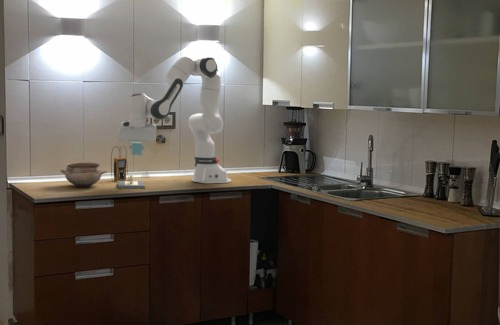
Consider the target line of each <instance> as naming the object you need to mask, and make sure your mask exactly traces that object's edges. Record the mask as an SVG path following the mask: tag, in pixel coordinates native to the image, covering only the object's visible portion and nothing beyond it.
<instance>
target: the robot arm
mask: <svg viewBox="0 0 500 325" xmlns="http://www.w3.org/2000/svg"><path fill="white" fill-rule="evenodd" d="M218 71H219V70H218V62H217V60H216V59H215V58H214V57H212V56H211V55H208V56H206V55H200V56H195V57H194V56H193V57H192V56H190V55H186V54H184V55H182V56H180V57H179V58H178V59H177V60H176V61H175V62H174V63H173V65H172V66H171V67H169V69H168V71H167V73H166V75H165V79H166V82H167V83H168V86H169V87H168V88H167V90H166V92H165V93H164V95H163V97H161V98H160V99H158V100H155V99H153V98H150V97H149V96H147V95H146V93H145V92H144V93H143V92H142V93H141V92H139V93H134V94H132V95H131V96H130V99H129V116H128V117H129V119H128V120H125V121H124V120H123V121H122V122H120V127H119V129H118V133H117V139H118V140H119V141H126V143H127V144H128V149H129V150H132V144H130V143H131V141H132V142H139V141H140V142H143V143H144V144H142V150H145V146H146V144H147V142H156V140H157V139H156V138H157V134H156V132H157V131H158V130H157V129H158V128H157V125H156V124H154V123H147V117H148V118H151V119H157V120H165V119H167V118H168V116H169V115H170V113H171V110H172V106H173V104H174V102H175V101H176V99H177V98H178V96H179V95H180V93H181V91H182V90H183V87H184V85H185V83H186V82H187V80H188V79H189V78H190V76H195V77H201V81H202V82H201V86H200V87H201V88H200V94H199V101H198V102H199V104H200V105H201V108H202V113H194V114H192V115H191V116H190V117H189V118H188V121H187V124H188V125H187V126H188V127H189V129H190V131H191V133H192V135H193V139H194V145H195V146H194V148H195V149H194V150H195V153H194V154H195V155H194V159H193V160H194V161H193V162H194V163H193V164H194V171H193V176H192V180H191V181H192V182H196V183H201V184H225V183H227V184H229V183H231V182H232V179H231V178H228V173H227V172H228V171H226V169H225V168H223V167H222V166H221V165H220V164H219V162H220V158H217V157H215V153H216V152H215V148H216V147H215V145H216V144H215V142H214V140H213V139H212V137H211V134H212V135H213V134H217V133H219V134H220V133H221V131H222V130H223V129H224V125H225V123H224V120H223V118H222V117H221V115H220V109H219V102H220V95H221V86H222V82H221V81H222V80H221V78H222V77H221V74H220V73H219V72H218Z"/></svg>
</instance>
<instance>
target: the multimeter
mask: <svg viewBox="0 0 500 325" xmlns="http://www.w3.org/2000/svg"><path fill="white" fill-rule="evenodd" d="M123 147H124V149H125V155H127V153H128V151H127V148H126V146H125V145H123ZM114 148H117V149H118V151H119V153H118V157H115V158H113V164H112V155H113V153H111V154H110V170H111V176H113V179H111V182H112V183H114V182H118V181H130V176H127V174H129V173H128V172H129V170H128V167H129V166H127V163H128V161H127V156H125V157H122V154H121V148H120V147H119V146H114ZM114 148H112V149H111V152H113V151H114ZM112 165H113V166H112ZM112 167H113V170H112ZM112 171H113V172H112ZM127 178H128V179H127Z"/></svg>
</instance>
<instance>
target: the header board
mask: <svg viewBox="0 0 500 325" xmlns="http://www.w3.org/2000/svg"><path fill="white" fill-rule="evenodd" d="M129 179H130V181H126V180H122V181H117V189H118V190H119V189H123V190H125V189H127V190H128V189H130V190H131V189H134V190H137V189H138V190H139V189H140V190H142V189H143V190H145V189H146V184H145V181H144V180H134V175H132V174H130V175H129Z"/></svg>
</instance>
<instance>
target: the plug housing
mask: <svg viewBox="0 0 500 325" xmlns="http://www.w3.org/2000/svg"><path fill="white" fill-rule="evenodd" d="M142 142H143V141H140V142H139V141H132V142H131V146H132V149H131V155H132V156H133V155H134V156H135V155H136V156H142V155H143V154H142V152H143V149H142V146H143V143H142Z"/></svg>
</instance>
